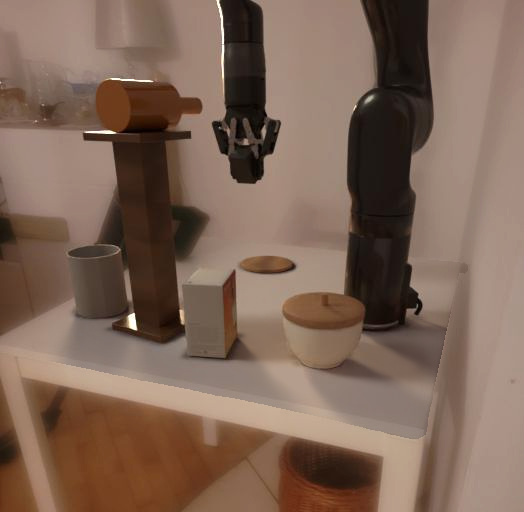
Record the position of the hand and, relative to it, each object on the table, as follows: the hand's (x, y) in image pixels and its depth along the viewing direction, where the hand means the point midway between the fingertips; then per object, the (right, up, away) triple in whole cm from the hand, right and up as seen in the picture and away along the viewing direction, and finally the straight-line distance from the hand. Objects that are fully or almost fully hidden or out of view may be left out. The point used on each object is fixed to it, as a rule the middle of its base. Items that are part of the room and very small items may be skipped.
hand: (247, 179), depth 92 cm
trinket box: (+11, -34, -25) cm, 43 cm away
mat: (+4, -14, +14) cm, 20 cm away
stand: (-14, -28, -15) cm, 34 cm away
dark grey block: (0, +2, -1) cm, 2 cm away
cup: (-24, -25, -8) cm, 36 cm away
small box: (-4, -32, -21) cm, 38 cm away
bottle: (-11, -1, -24) cm, 26 cm away
